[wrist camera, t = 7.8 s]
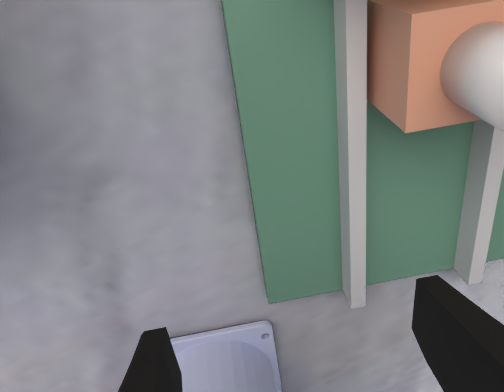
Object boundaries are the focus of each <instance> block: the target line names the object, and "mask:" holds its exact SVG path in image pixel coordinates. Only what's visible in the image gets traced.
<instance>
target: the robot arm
mask: <svg viewBox="0 0 504 392" xmlns="http://www.w3.org/2000/svg"><path fill="white" fill-rule="evenodd" d="M412 330H413V332H414V335H415V337H416V339H417V342H418V344H419V346H420V348H421V351H422V353H423V355H424V357H425V359H426V362H427V363H428V365H429V367H430V369H431V370H432V372H433V374H434V375H435V377H436V379H437V380H438V382H439V384H440V386H441V387H442V389H443V391H444V392H504V325H503V324H502V323H500V322H499V321H497V320H496V319H495V318H493V317H492V316H490V315H489V314H488V313H486V312H485V311H484V310H482V309H481V308H480V307H478V306H477V305H476V304H474V303H473V302H472V301H470V300H469V299H468V298H467V297H465V296H464V295H463V294H461V293H460V292H459V291H457V290H456V289H455V288H453V287H452V286H451V285H450V284H448V283H447V282H446V281H444V280H443V279H442V278H440V277H439V276H438V275H435V276H430V277H424V278H419V279H416V288H415V299H414V309H413V320H412ZM265 333H267V334H265ZM118 392H282V388H281V381H280V375H279V368H278V362H277V355H276V349H275V342H274V336H273V329H272V325H271V323H270V322H269V321H258V322H253V323H248V324H243V325H238V326H233V327H228V328H223V329H218V330H213V331H207V332H202V333H197V334H192V335H187V336H182V337H177V338H172V339H170V338H169V335H168V332H167V329H166V327H164V328H159V329H154V330H149V331H144V332H143V333H142V335H141V337H140V340H139V343H138V345H137V348H136V350H135V353H134V356H133V358H132V361H131V363H130V366H129V368H128V370H127V373H126V375H125V377H124V380H123V382H122V384H121V386H120V388H119V391H118Z"/></svg>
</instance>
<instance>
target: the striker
mask: <svg viewBox="0 0 504 392" xmlns="http://www.w3.org/2000/svg"><path fill="white" fill-rule="evenodd" d="M367 100H368V101H369V102H370V103H371V104H373V105H374V106H375V107H376V108H377V109H378V110H379V111H381V112H382V113H383V114H384V115H385V116H386V117H387V118H389V119H390V120H391V121H392V122H393V123H394V124H395V125H397V126H398V127H399V128H400V129H401V130H402V131H403V132H405V133H410V132H415V131H421V130H426V129H432V128H437V127H443V126H449V125H454V124H460V123H465V122H471V121H476V120H484V121H485V122H487V123H489V124H490V125H492V126H494V127H495V128H497V129H499V130H500V131H502V132H503V133H504V0H367Z"/></svg>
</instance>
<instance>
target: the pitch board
mask: <svg viewBox="0 0 504 392" xmlns="http://www.w3.org/2000/svg"><path fill="white" fill-rule="evenodd" d="M221 3H222V9H223V16H224V22H225V29H226V35H227V42H228V48H229V54H230V61H231V67H232V74H233V80H234V87H235V93H236V100H237V106H238V113H239V119H240V126H241V132H242V139H243V145H244V151H245V158H246V164H247V171H248V177H249V184H250V190H251V197H252V203H253V210H254V216H255V223H256V229H257V236H258V242H259V249H260V255H261V261H262V268H263V274H264V281H265V287H266V293H267V297H268V302H269V304H272V303H278V302H283V301H288V300H293V299H298V298H303V297H308V296H313V295H318V294H324V293H329V292H334V291H339V290H343V291H344V294H345V296H346V298H347V300H348V302H349V305H350V307H351V309H352V308H357V307H362V306H366V285H370V284H375V283H380V282H385V281H390V280H395V279H400V278H405V277H411V276H416V275H421V274H426V273H431V272H436V271H441V270H446V269H452V268H454V269H455V270H456V272H457V273H458V274H459V275H460V277H461V278H462V279H463V280H464V281H465V283H466V284H467V285H473V284H478V283H482V279H483V274H484V269H485V264H486V262H487V261H492V260H498V259H503V258H504V133H503V132H502V131H500V130H499V129H497V128H495V127H494V126H492V125H490V124H489V123H487V122H485V121H484V120H476V121H471V122H465V123H460V124H454V125H449V126H443V127H437V128H432V129H426V130H421V131H415V132H410V133H405V132H403V131H402V130H401V129H400V128H399V127H398V126H397V125H395V124H394V123H393V122H392V121H391V120H390V119H389V118H387V117H386V116H385V115H384V114H383V113H382V112H381V111H379V110H378V109H377V108H376V107H375V106H374V105H373V104H371V103H370V102H369V101H368V100H367V0H221Z"/></svg>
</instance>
